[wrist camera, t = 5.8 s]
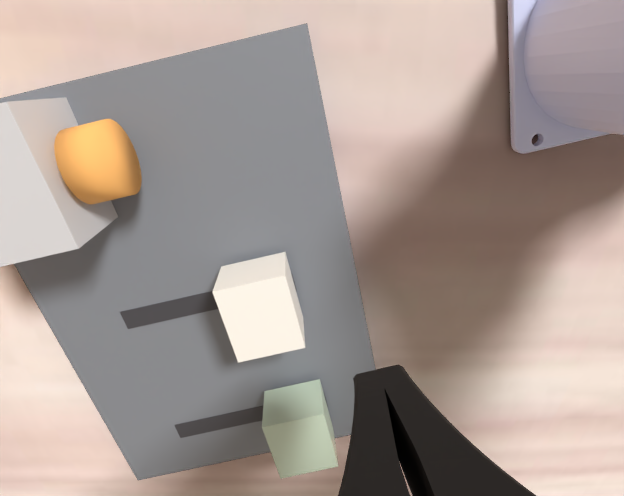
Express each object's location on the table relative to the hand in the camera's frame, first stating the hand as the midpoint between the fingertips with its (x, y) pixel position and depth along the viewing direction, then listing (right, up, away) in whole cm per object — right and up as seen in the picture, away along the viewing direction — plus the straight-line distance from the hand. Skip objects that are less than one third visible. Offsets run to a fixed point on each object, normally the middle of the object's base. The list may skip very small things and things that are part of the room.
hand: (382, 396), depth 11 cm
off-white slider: (-4, +2, +8) cm, 9 cm away
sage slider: (-3, -5, +11) cm, 12 cm away
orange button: (-9, +8, +5) cm, 13 cm away
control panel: (-7, +2, +9) cm, 12 cm away
